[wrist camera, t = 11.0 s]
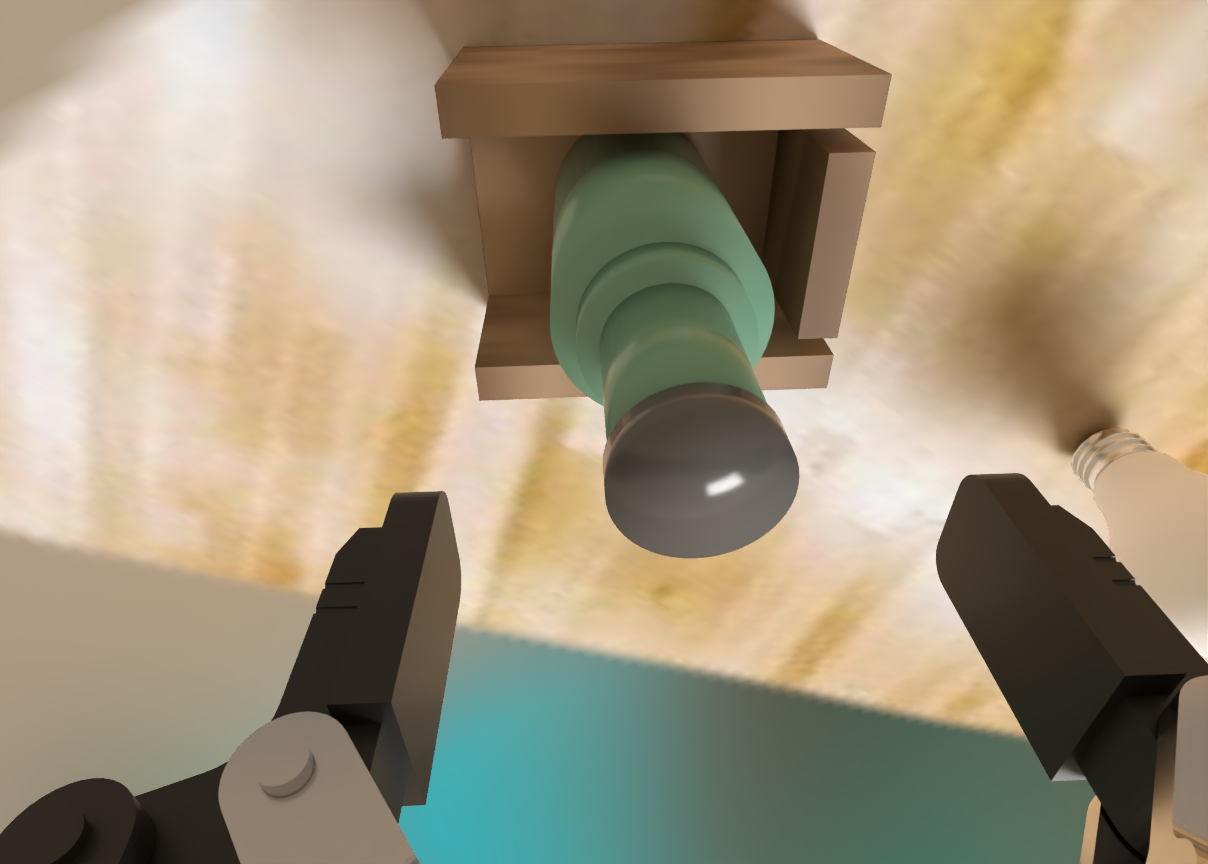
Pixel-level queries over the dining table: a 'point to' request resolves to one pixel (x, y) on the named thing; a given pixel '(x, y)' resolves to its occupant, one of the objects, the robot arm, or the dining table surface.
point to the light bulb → (1153, 523)
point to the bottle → (668, 344)
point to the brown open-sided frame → (725, 142)
